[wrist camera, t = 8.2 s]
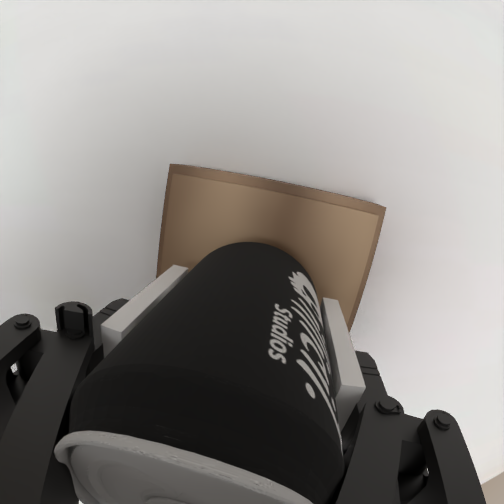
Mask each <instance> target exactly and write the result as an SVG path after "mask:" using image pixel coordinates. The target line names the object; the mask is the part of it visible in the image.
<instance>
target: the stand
mask: <svg viewBox="0 0 504 504" xmlns="http://www.w3.org/2000/svg"><path fill="white" fill-rule="evenodd" d="M385 211H386V207H383V206H380V205H378V204H375V203H371V202H367V201H363V200H360V199H356V198H352V197H348V196H343V195H339V194H335V193H331V192H327V191H322V190H318V189H313V188H309V187H304V186H300V185H295V184H290V183H286V182H281V181H276V180H271V179H265V178H260V177H255V176H250V175H244V174H238V173H233V172H227V171H221V170H215V169H209V168H202V167H195V166H189V165H179V164H170V167H169V173H168V179H167V186H166V193H165V200H164V208H163V216H162V224H161V233H160V242H159V252H158V263H157V275H156V279H157V278H158V277H159V276H160V275H162V274H163V273H164V272H165V271H167V270H168V269H169V268H170V267H172V266H173V265H178V266H182V267H186V268H188V273H189V272H190V271H191V270H192V269H193V268H194V267H195V266H196V265H197V264H198V263H199V262H200V261H201V260H202V259H203V258H204V257H205V256H207V255H208V254H209V253H211V252H212V251H214V250H216V249H218V248H220V247H222V246H225V245H228V244H232V243H238V242H258V243H264V244H268V245H271V246H274V247H276V248H279V249H281V250H283V251H284V252H286V253H288V254H289V255H291V256H292V257H293V258H295V259H296V260H297V261H298V262H299V263H300V264H301V265H302V266H303V267H304V269H305V270H306V271H307V273H308V274H309V276H310V277H311V279H312V281H313V284H314V286H315V289H316V293H317V297H318V302H319V307H320V305H321V302H322V298H323V297H324V298H329V299H334V300H338V302H339V305H340V308H341V311H342V314H343V317H344V320H345V323H346V326H347V329H348V332H350V330H351V327H352V324H353V321H354V318H355V315H356V312H357V309H358V306H359V303H360V300H361V297H362V294H363V291H364V288H365V285H366V281H367V278H368V275H369V271H370V268H371V264H372V261H373V257H374V254H375V250H376V246H377V243H378V239H379V235H380V231H381V227H382V223H383V219H384V215H385Z"/></svg>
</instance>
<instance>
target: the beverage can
mask: <svg viewBox="0 0 504 504" xmlns="http://www.w3.org/2000/svg"><path fill="white" fill-rule="evenodd" d="M54 455H55V457H56V459H57V460H58V461H59V462H61V463H64V464H66V465H67V467H68V468H69V470H70V472H71V476H72V479H73V484H74V488H75V493H76V495H77V497H78V499H79V500H80V501H81V502H82V503H83V504H330V502H331V500H332V498H333V496H334V494H335V493H336V491H337V489H338V487H339V485H340V483H341V481H342V478H343V475H344V460H343V451H342V443H341V435H340V428H339V421H338V413H337V407H336V400H335V393H334V387H333V380H332V374H331V368H330V362H329V356H328V351H327V345H326V339H325V334H324V328H323V323H322V318H321V313H320V307H319V302H318V297H317V293H316V289H315V286H314V284H313V281H312V279H311V277H310V276H309V274H308V273H307V271H306V270H305V269H304V267H303V266H302V265H301V264H300V263H299V262H298V261H297V260H296V259H295V258H293V257H292V256H291V255H289V254H288V253H286V252H284V251H283V250H281V249H279V248H276V247H274V246H271V245H268V244H264V243H258V242H238V243H232V244H228V245H225V246H222V247H220V248H218V249H216V250H214V251H212V252H211V253H209V254H208V255H207V256H205V257H204V258H203V259H202V260H201V261H200V262H199V263H198V264H197V265H196V266H195V267H194V268H193V269H192V270H191V271H190V272H189V273H188V274H187V275H186V276H185V277H184V278H183V279H182V280H181V281H180V282H179V283H178V284H177V285H176V286H175V287H174V288H173V289H172V290H171V291H170V292H169V293H168V294H167V295H166V296H165V297H164V298H163V299H162V300H161V301H160V302H159V303H158V304H157V305H156V306H155V307H154V308H153V309H152V310H151V311H150V312H149V313H148V314H147V315H146V316H145V317H144V318H143V319H142V320H141V321H140V322H139V323H138V324H137V325H136V326H135V327H134V328H133V329H132V330H131V331H130V332H129V333H128V334H127V335H126V336H125V337H124V338H123V339H122V340H121V341H120V342H119V343H118V344H117V345H116V346H115V348H114V349H113V350H112V351H111V352H110V353H109V354H108V355H107V356H106V357H105V358H104V359H103V360H102V361H101V362H100V363H99V364H98V365H97V366H96V367H95V368H94V370H93V371H92V372H91V373H90V374H89V375H88V376H87V377H86V378H85V379H84V380H83V381H82V382H81V383H80V384H79V386H78V387H77V389H76V391H75V393H74V396H73V398H72V401H71V406H70V411H69V432H68V435H66V436H64V437H63V438H62V439H61V440H60V441H59V442H58V444H57V445H56V447H55V449H54Z"/></svg>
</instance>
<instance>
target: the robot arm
mask: <svg viewBox="0 0 504 504" xmlns="http://www.w3.org/2000/svg"><path fill="white" fill-rule="evenodd" d="M187 274H188V268H186V267H182V266H178V265H173V266H172V267H170V268H169V269H168V270H167V271H165V272H164V273H163V274H162V275H160V276H159V277H158V278H157V279H155V280H154V281H153V282H152V283H150V284H149V285H148V286H147V287H146V288H144V289H143V290H142V291H141V292H139V293H138V294H137V295H136V296H135V297H133V298H132V299H131V300H130V301H129V300H126V299H123V298H122V299H119V300H116V301H113V302H111V303H110V304H108V305H107V306H106V307H105V308H103V309H102V310H101V311H100V312H98V313H97V314H96V315H94V316H93V317H92V309H91V308H90V307H89V306H88V305H86V304H84V303H80V302H66V303H62V304H60V305H58V306H57V307H56V308H55V313H56V322H57V329H58V330H57V332H52V331H47V330H42V329H41V328H40V322H39V320H38V318H37V317H35V316H33V315H30V314H20V315H15V316H14V317H12V318H10V319H9V320H7V321H6V322H4V323H3V324H2V325H0V504H79V499H78V497H77V495H76V493H75V488H74V484H73V479H72V476H71V472H70V470H69V468H68V467H67V465H66V464H64V463H61V462H59V461H58V460H57V459H56V457H55V455H54V449H55V447H56V445H57V444H58V442H59V441H60V440H61V439H62V438H63V437H64V436H66V435H68V432H69V411H70V406H71V401H72V398H73V396H74V393H75V391H76V389H77V387H78V386H79V384H80V383H81V382H82V381H83V380H84V379H85V378H86V377H87V376H88V375H89V374H90V373H91V372H92V371H93V370H94V368H95V367H96V366H97V365H98V364H99V363H100V362H101V361H102V360H103V359H104V358H105V357H106V356H107V355H108V354H109V353H110V352H111V351H112V350H113V349H114V348H115V346H116V345H117V344H118V343H119V342H120V341H121V340H122V339H123V338H124V337H125V336H126V335H127V334H128V333H129V332H130V331H131V330H132V329H133V328H134V327H135V326H136V325H137V324H138V323H139V322H140V321H141V320H142V319H143V318H144V317H145V316H146V315H147V314H148V313H149V312H150V311H151V310H152V309H153V308H154V307H155V306H156V305H157V304H158V303H159V302H160V301H161V300H162V299H163V298H164V297H165V296H166V295H167V294H168V293H169V292H170V291H171V290H172V289H173V288H174V287H175V286H176V285H177V284H178V283H179V282H180V281H181V280H182V279H183V278H184V277H185V276H186V275H187ZM320 313H321V318H322V323H323V328H324V334H325V339H326V345H327V351H328V356H329V362H330V368H331V374H332V380H333V387H334V393H335V400H336V407H337V413H338V421H339V428H340V435H341V440H342V451H343V460H344V475H343V478H342V481H341V483H340V485H339V487H338V489H337V491H336V493H335V494H334V496H333V498H332V500H331V502H330V504H486V501H485V498H484V495H483V492H482V488H481V485H480V482H479V479H478V476H477V473H476V470H475V467H474V464H473V462H472V459H471V456H470V453H469V451H468V448H467V445H466V443H465V440H464V438H463V435H462V433H461V430H460V428H459V426H458V423H457V421H456V420H455V418H454V417H453V416H451V415H450V414H449V413H447V412H445V411H442V410H431V411H429V412H428V413H427V414H426V416H425V417H424V419H421V418H417V417H413V416H410V415H407V414H404V410H403V407H402V405H401V404H400V403H399V402H398V401H397V400H395V399H394V398H392V397H390V396H388V395H387V392H386V390H385V387H384V384H383V382H382V379H381V376H380V374H379V371H378V370H377V366H376V363H375V361H374V359H373V358H372V357H371V356H370V355H369V354H368V353H366V352H359V351H355V350H354V347H353V344H352V341H351V338H350V335H349V332H348V329H347V326H346V323H345V320H344V317H343V314H342V311H341V308H340V305H339V302H338V300H334V299H329V298H324V297H323V298H322V302H321V305H320ZM15 362H16V366H17V369H18V370H17V371H16V372H14V373H13V372H12V370H11V366H12V365H13V364H14V363H15ZM427 468H428V471H427ZM428 472H429V474H428Z"/></svg>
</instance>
